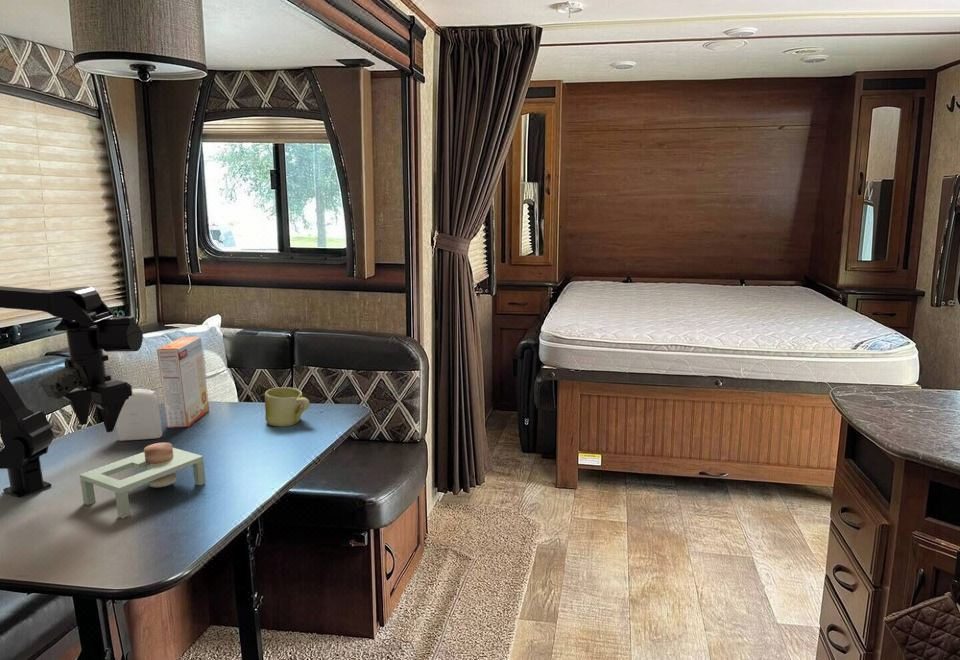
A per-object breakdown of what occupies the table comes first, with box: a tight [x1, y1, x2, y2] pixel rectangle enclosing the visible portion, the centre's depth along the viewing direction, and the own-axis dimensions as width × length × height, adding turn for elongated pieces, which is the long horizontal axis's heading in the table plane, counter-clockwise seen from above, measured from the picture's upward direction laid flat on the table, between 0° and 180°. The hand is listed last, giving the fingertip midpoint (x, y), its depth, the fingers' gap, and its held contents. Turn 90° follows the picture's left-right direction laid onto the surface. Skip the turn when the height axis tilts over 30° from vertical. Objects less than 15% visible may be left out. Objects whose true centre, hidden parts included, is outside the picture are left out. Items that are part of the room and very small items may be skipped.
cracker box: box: [156, 336, 210, 429], centre depth 186 cm, size 14×6×21 cm, turn 178°
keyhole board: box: [79, 447, 207, 519], centre depth 142 cm, size 13×18×6 cm
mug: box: [264, 386, 310, 427], centre depth 183 cm, size 12×10×10 cm
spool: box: [143, 442, 177, 488], centre depth 144 cm, size 5×5×8 cm
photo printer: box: [115, 388, 163, 442], centre depth 173 cm, size 10×4×12 cm, turn 96°
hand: (96, 428), depth 142 cm, fingers open, 9 cm apart
